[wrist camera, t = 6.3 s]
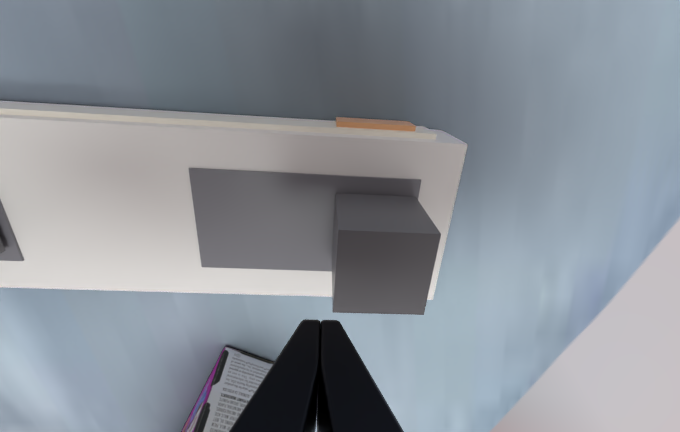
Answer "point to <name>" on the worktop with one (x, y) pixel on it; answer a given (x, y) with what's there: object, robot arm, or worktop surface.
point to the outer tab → (382, 254)
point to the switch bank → (200, 196)
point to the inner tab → (1, 247)
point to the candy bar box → (227, 391)
